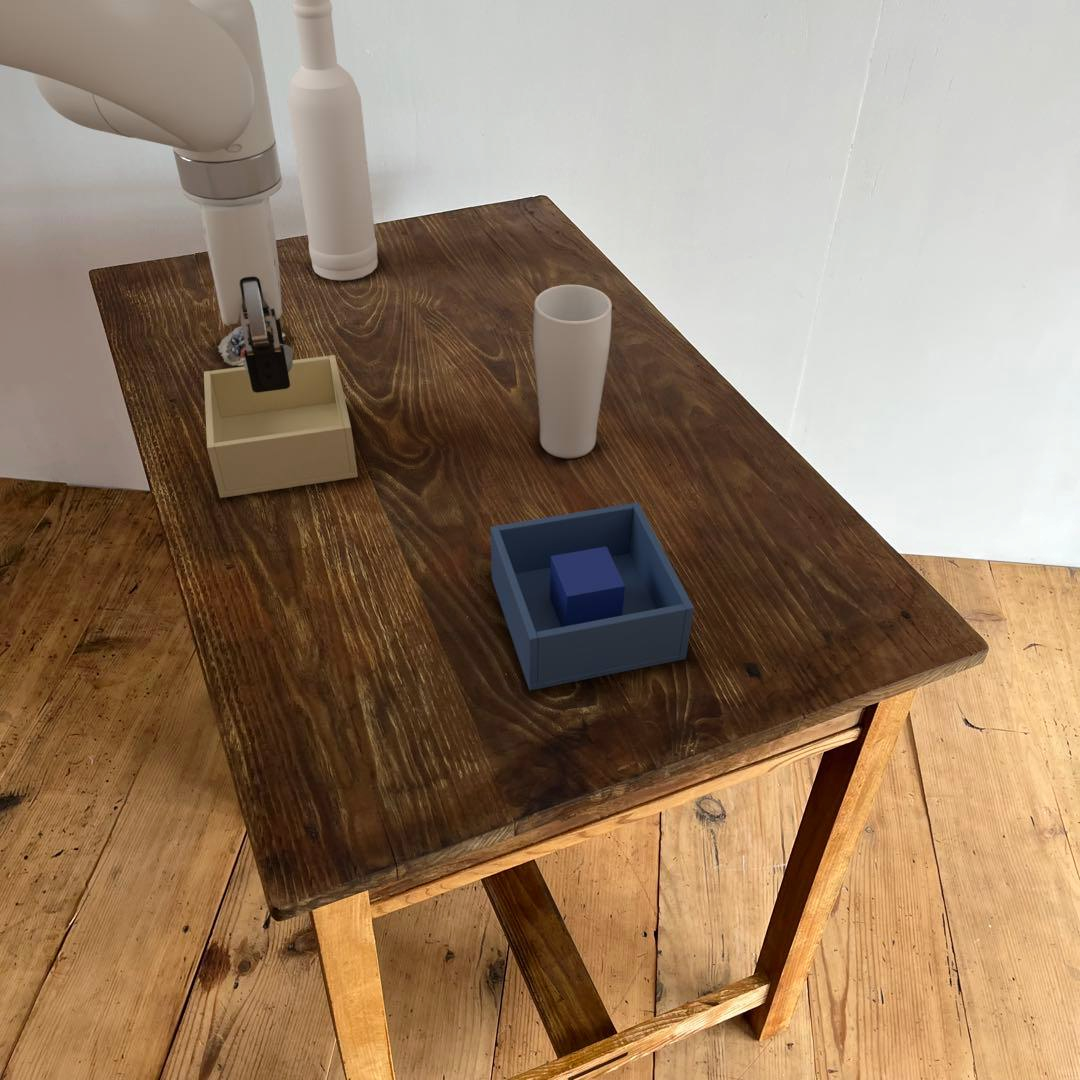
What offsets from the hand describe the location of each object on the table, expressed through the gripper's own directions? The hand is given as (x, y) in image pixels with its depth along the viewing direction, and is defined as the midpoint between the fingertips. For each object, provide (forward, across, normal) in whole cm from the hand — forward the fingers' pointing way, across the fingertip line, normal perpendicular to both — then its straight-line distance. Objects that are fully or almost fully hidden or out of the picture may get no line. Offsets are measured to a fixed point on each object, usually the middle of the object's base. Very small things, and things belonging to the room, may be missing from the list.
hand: (268, 368), depth 89 cm
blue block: (+8, +28, +21) cm, 36 cm away
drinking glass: (+9, +6, +26) cm, 28 cm away
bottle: (+9, -35, +10) cm, 37 cm away
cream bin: (+9, 0, 0) cm, 9 cm away
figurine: (+1, 0, 0) cm, 1 cm away
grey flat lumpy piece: (+9, -19, -2) cm, 21 cm away
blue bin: (+9, +28, +21) cm, 36 cm away
